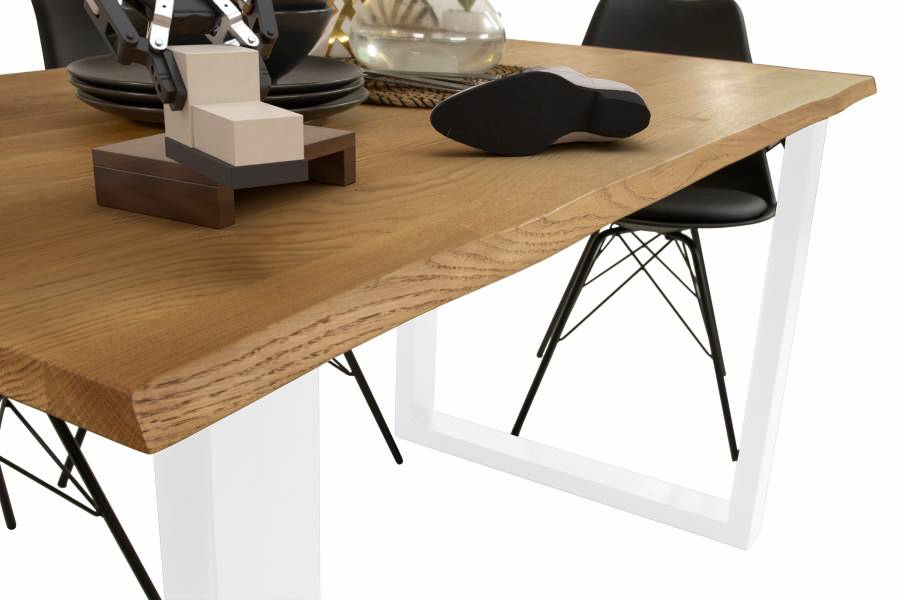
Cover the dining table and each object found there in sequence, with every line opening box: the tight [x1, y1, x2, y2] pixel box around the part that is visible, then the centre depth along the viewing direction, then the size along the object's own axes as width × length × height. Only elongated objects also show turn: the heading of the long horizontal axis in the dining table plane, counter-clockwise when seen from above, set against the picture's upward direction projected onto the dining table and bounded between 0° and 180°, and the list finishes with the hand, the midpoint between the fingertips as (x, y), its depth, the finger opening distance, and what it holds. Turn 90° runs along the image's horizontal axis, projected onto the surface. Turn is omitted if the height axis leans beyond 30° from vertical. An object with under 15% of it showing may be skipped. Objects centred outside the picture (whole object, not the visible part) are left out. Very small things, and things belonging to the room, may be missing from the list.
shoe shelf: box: [91, 124, 357, 230], centre depth 93 cm, size 14×20×5 cm
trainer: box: [163, 43, 309, 190], centre depth 70 cm, size 12×6×8 cm, turn 35°
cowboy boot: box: [429, 65, 652, 157], centre depth 123 cm, size 10×28×25 cm
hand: (221, 100), depth 71 cm, fingers closed on trainer, 5 cm apart
